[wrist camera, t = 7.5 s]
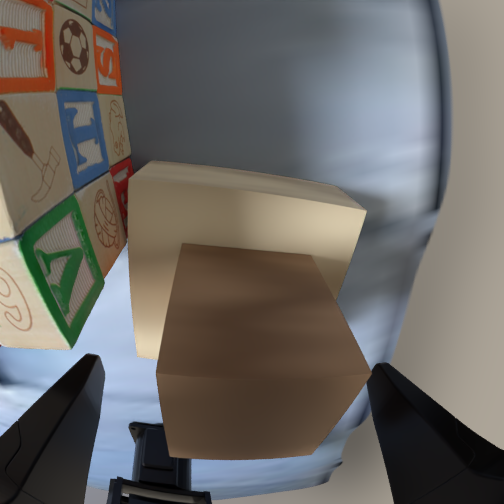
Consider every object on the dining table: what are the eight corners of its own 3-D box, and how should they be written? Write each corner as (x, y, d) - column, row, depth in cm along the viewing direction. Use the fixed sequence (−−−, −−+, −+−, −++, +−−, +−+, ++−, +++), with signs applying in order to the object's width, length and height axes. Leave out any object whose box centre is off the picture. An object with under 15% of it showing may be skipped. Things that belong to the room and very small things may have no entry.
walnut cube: (310, 255, 12) (371, 373, 6) (284, 344, 14) (311, 454, 9) (182, 243, 11) (155, 373, 5) (179, 339, 13) (169, 456, 8)
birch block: (293, 321, 18) (307, 367, 15) (150, 308, 17) (137, 357, 13) (333, 183, 14) (367, 210, 11) (153, 158, 13) (128, 178, 9)
